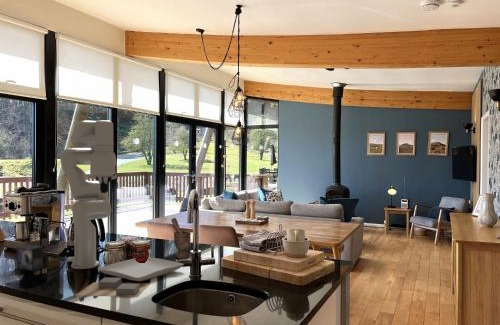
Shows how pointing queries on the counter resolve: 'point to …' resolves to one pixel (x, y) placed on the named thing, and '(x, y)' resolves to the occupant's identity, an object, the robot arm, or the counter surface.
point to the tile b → (127, 289)
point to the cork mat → (108, 290)
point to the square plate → (141, 269)
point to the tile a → (110, 282)
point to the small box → (29, 257)
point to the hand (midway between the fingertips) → (104, 192)
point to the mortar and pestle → (181, 241)
